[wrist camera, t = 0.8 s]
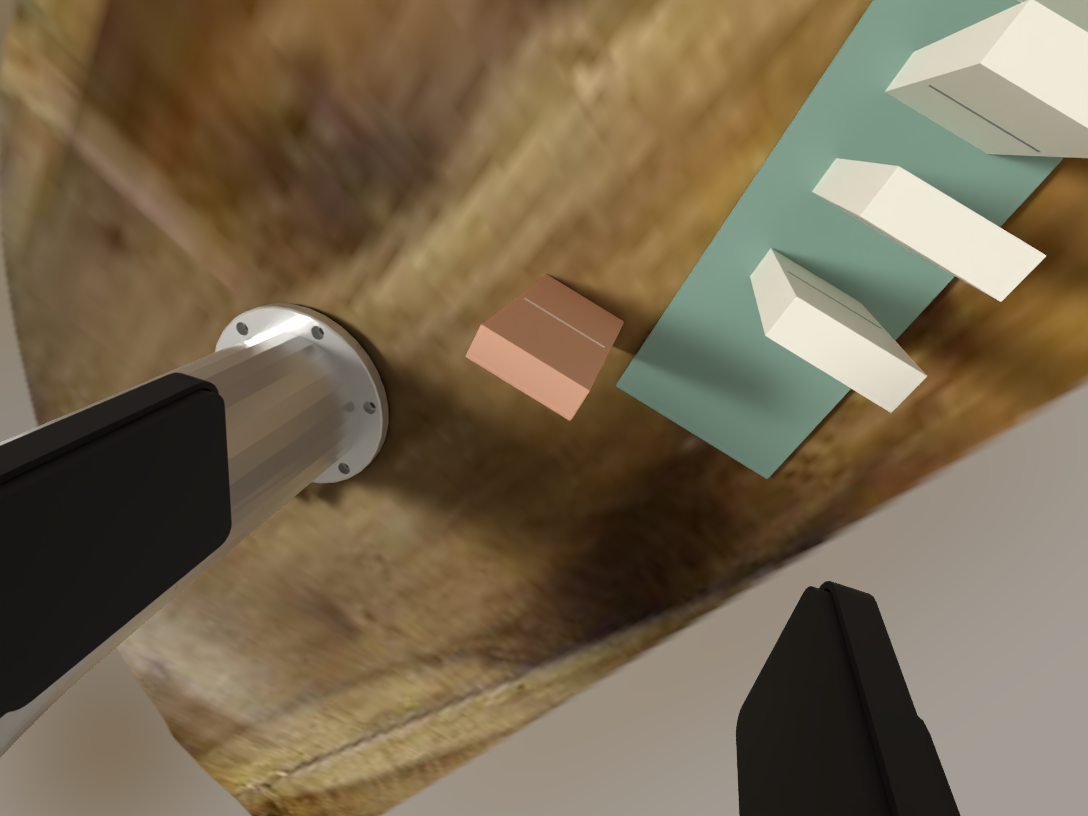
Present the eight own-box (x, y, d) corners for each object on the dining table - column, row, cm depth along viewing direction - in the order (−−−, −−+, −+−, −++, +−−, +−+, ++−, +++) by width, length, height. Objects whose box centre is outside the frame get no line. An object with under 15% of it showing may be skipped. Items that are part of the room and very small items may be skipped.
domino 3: (905, 249, 26) (1000, 302, 18) (811, 191, 27) (859, 216, 18) (933, 216, 26) (1047, 255, 17) (836, 157, 26) (899, 165, 17)
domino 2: (987, 154, 24) (1140, 160, 16) (884, 92, 24) (979, 63, 16) (1019, 115, 24) (1201, 100, 15) (913, 51, 24) (1031, -3, 15)
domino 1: (836, 329, 29) (890, 412, 20) (749, 276, 29) (765, 336, 20) (860, 302, 28) (927, 376, 19) (771, 247, 28) (796, 296, 19)
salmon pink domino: (609, 345, 32) (569, 421, 24) (532, 298, 32) (465, 356, 24) (624, 321, 32) (589, 390, 23) (546, 273, 32) (481, 324, 23)
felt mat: (766, 475, 33) (767, 479, 33) (616, 383, 33) (615, 385, 33) (1264, -66, 20) (1274, -70, 20) (1016, -214, 20) (1021, -221, 20)
